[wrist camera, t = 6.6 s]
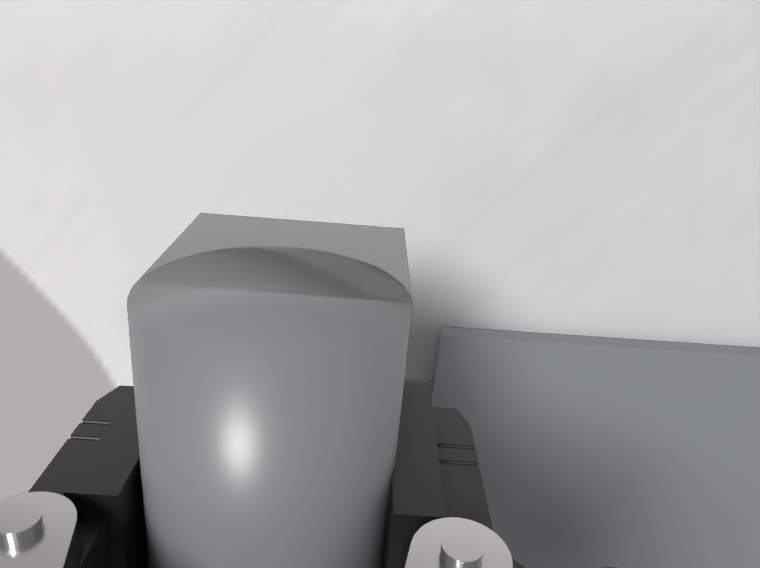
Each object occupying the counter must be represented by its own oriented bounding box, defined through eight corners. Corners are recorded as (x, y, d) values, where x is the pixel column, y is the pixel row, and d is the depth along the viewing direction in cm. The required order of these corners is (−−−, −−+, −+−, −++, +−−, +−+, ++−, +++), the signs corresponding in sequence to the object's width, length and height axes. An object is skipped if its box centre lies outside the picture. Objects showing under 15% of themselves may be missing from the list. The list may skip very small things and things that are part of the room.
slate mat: (867, 354, 21) (881, 364, 20) (740, 653, 26) (748, 667, 25) (440, 326, 20) (442, 335, 20) (401, 636, 26) (402, 649, 25)
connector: (403, 228, 11) (419, 374, 7) (370, 571, 14) (365, 830, 10) (200, 213, 11) (73, 349, 7) (211, 561, 14) (130, 819, 10)
